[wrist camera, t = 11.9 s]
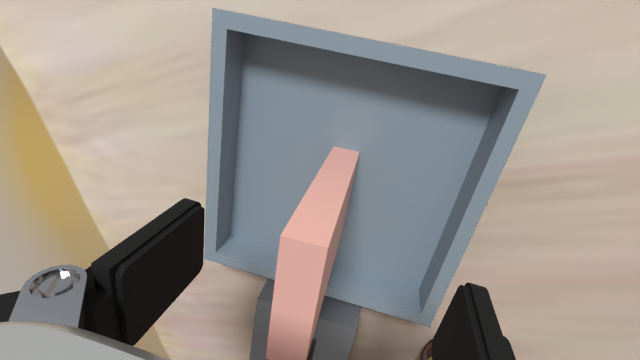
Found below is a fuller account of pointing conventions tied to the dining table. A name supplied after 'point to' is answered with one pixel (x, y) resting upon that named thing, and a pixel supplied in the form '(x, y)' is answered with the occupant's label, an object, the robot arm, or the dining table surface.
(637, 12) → the dining table surface
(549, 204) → the dining table surface
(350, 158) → the ticket
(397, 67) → the tray
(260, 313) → the dispenser
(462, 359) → the robot arm
